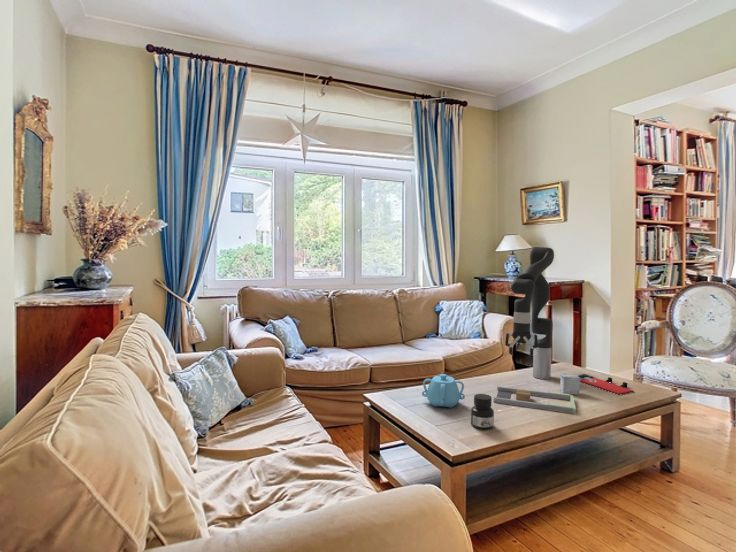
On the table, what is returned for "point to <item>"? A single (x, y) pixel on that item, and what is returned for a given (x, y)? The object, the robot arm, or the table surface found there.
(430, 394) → the decorative pot
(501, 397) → the frame
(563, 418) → the table surface
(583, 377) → the red board with handle
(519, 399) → the walnut block
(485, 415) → the ink bottle
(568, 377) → the medicine box
